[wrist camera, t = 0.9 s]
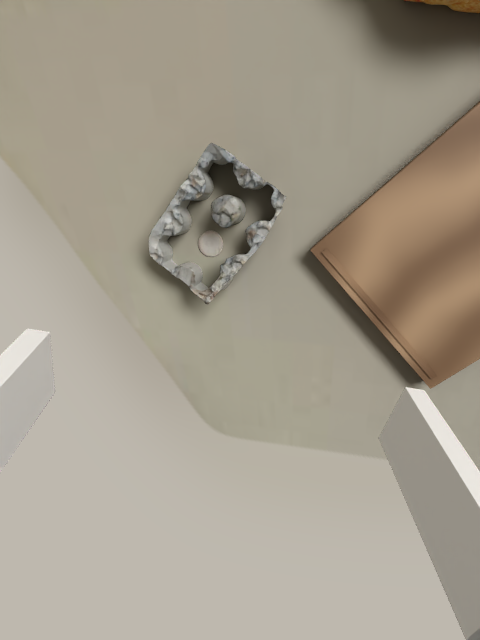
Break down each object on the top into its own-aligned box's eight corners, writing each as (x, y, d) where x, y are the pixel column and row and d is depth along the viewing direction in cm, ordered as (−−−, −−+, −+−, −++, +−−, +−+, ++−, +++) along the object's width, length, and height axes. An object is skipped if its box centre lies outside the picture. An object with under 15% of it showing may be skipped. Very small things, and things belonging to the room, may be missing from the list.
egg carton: (218, 300, 33) (205, 312, 29) (154, 246, 32) (132, 252, 28) (296, 203, 29) (292, 203, 25) (224, 142, 28) (210, 132, 25)
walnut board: (659, 234, 24) (682, 236, 23) (425, 380, 31) (431, 389, 29) (527, 59, 23) (542, 49, 22) (310, 248, 29) (310, 250, 28)
